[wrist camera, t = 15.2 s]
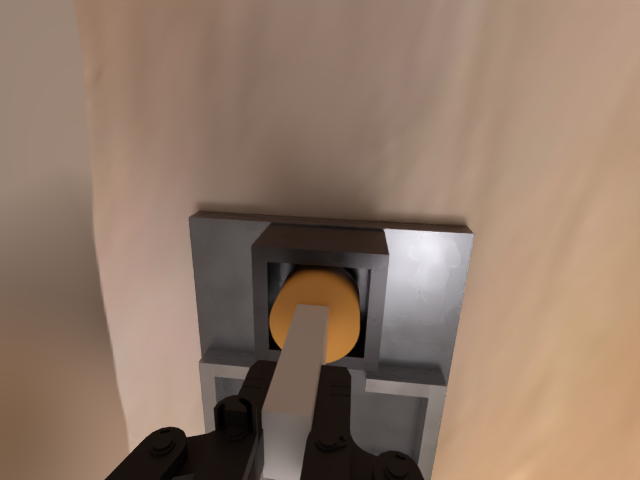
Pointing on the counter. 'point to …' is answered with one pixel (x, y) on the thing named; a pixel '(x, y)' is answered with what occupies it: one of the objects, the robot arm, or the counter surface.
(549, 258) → the counter surface
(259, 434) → the robot arm
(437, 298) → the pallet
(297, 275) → the button
